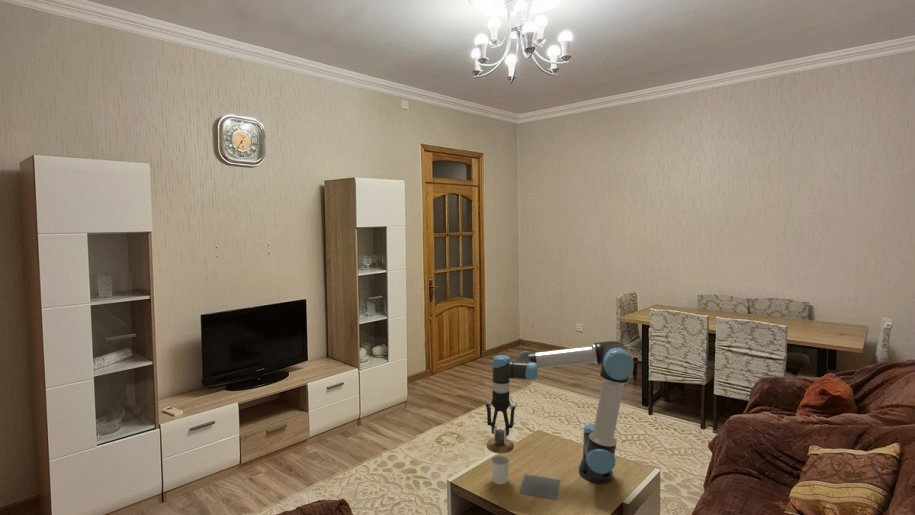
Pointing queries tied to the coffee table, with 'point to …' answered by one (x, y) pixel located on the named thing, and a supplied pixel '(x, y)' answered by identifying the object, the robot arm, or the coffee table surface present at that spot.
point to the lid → (500, 443)
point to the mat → (540, 487)
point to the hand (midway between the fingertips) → (500, 441)
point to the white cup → (500, 469)
